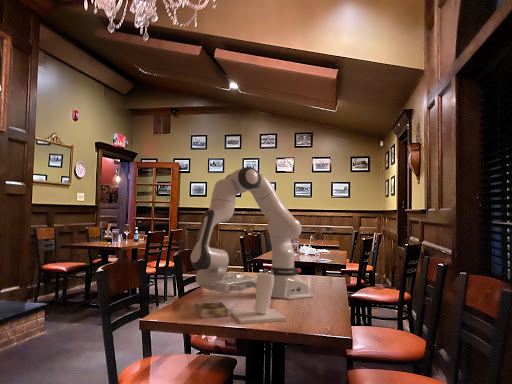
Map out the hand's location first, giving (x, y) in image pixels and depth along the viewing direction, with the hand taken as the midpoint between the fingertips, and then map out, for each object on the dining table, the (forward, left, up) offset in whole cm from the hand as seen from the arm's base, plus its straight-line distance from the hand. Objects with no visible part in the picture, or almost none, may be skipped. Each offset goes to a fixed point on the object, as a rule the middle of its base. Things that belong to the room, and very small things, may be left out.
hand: (250, 287), depth 149 cm
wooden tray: (+15, -5, -11) cm, 19 cm away
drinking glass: (-4, +3, -10) cm, 11 cm away
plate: (-2, +4, -11) cm, 12 cm away
